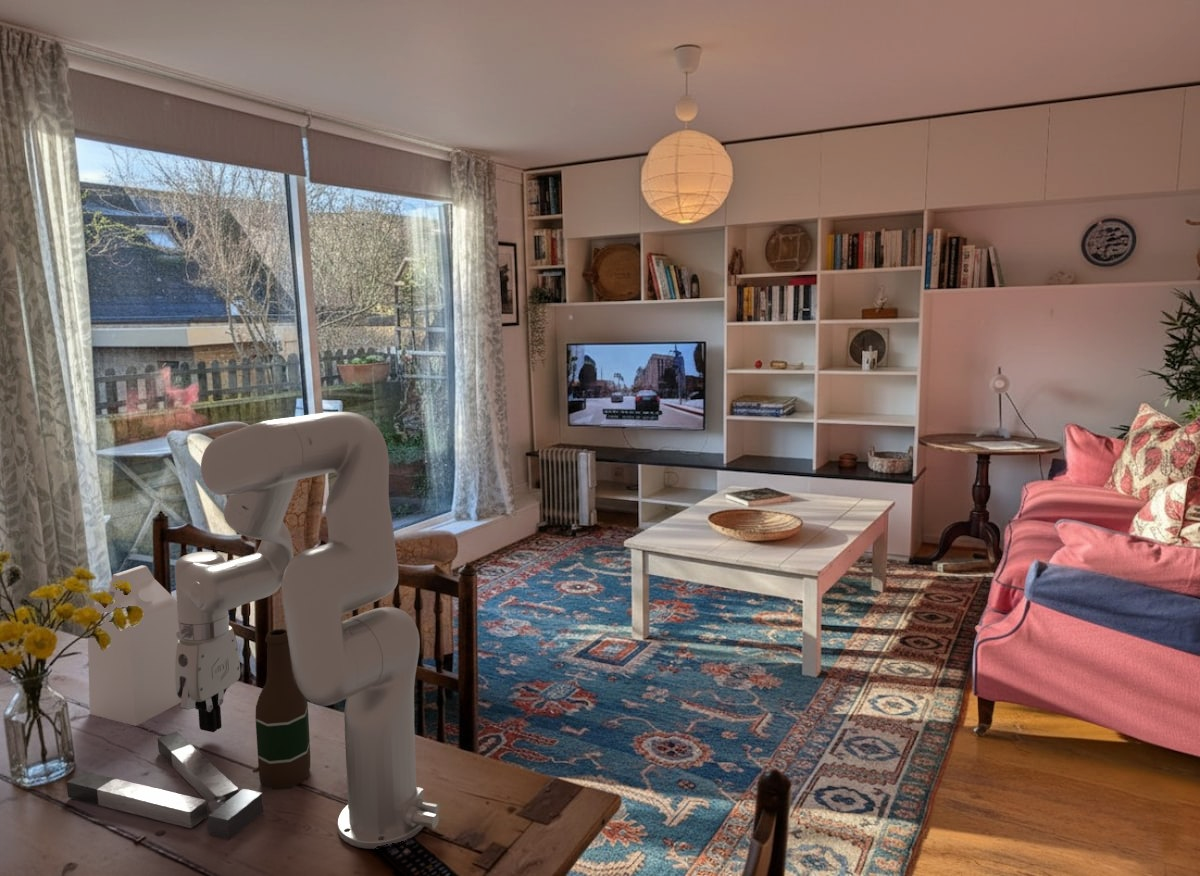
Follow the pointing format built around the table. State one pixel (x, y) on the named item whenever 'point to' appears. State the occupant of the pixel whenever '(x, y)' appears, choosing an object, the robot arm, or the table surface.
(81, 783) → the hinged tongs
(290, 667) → the beer bottle
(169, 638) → the milk
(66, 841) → the table surface
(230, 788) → the tongs arm
